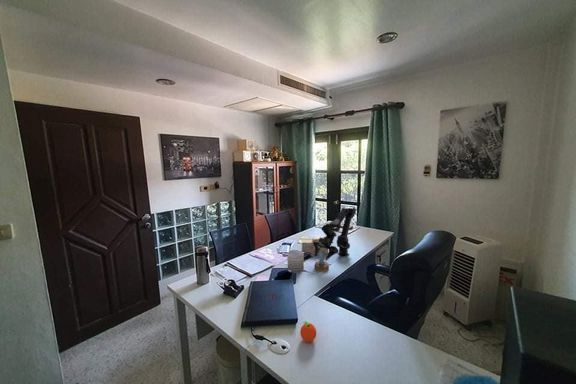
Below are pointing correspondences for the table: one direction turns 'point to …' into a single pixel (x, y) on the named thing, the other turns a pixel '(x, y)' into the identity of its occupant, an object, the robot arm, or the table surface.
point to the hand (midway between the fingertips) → (320, 258)
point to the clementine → (308, 332)
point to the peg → (321, 258)
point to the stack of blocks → (309, 247)
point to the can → (295, 261)
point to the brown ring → (321, 268)
